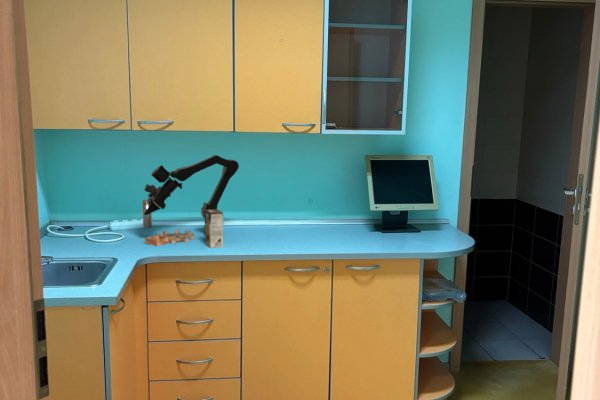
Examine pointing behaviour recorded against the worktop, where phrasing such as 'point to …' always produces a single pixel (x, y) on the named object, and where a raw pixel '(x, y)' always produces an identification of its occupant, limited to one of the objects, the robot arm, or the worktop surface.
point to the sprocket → (170, 237)
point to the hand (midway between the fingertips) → (144, 213)
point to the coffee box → (214, 228)
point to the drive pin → (146, 218)
